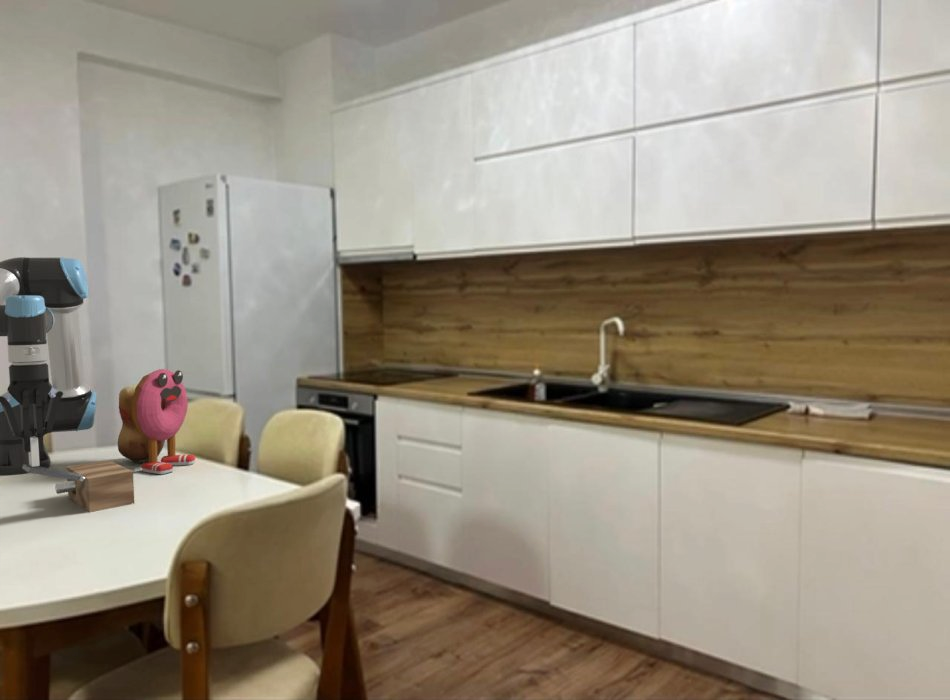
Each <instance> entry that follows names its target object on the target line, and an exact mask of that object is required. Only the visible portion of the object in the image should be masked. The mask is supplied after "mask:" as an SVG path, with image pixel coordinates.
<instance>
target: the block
mask: <svg viewBox="0 0 950 700" xmlns="http://www.w3.org/2000/svg"><path fill="white" fill-rule="evenodd" d="M66 471H68V472H76V473H78V474H80V475H81V476H83V477H85V478H86V480H85V481H84V482H81V481H77V480H75V488H76V491H71V492H67V497H68V499H69V500H71V501H72V500H73V502H74V503H76V504H77V505H79V506H80V507H82V508H83V509H84V510H86V511H87V512H88V513H93V512H96V511H98V512H99V511H102V510H103V511H104V510H106V509H113V508H118V507H121V506H126V505H127V506H128V505H132V503H133V504H135V486H134V484H135V483H134V471H133V470H131V469H129V468H126V467H125V466H123V465H120V464H118V463H116V462H114V461H112V460H103V461H101V460H100V461H95V462H90V463H84V464H77V465H71V466H66ZM67 481H73V480H71V479H67ZM67 481H66V482H67Z"/></svg>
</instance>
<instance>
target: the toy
mask: <svg viewBox="0 0 950 700" xmlns="http://www.w3.org/2000/svg"><path fill="white" fill-rule="evenodd" d="M183 379H184V375H183V372H182V371H181V370H179V369H178V370H176V371H175V372H174V371H171V370H169V369H164V368H159V369H156V370H154V371H152V372H150V373H148V374H146V375H144V376H143V377H141V379H140V381H139V382H138V383H137V384H138V385H137V386H136V388H135V392H134V395H133V399H132V418H133V420H134V423H135V425H136V428H137V430H138V431H139V432H140V433H142V434H143V435H144V436H145V437H147V438H148V446H149V462H143V463H142V464H141V469H142V472H144V473H149V474H153V475H154V474H155V475H167V474H170V473H173V471H174V468H173V466H190V465H191V466H192V465H194V463H196V455H194V454H176V434H177V433H178V432H179V431H180V429H181V428H182V425H183V424H184V421H185V419H186V415H187V413H188V407H189V406H188V404H189V403H188V397H187V396H188V395H187V391H186V389H185V388H186V387H185V386H184V383H183ZM157 440H159V441H164V440H165V441H166V447H167V448H166V449H167V455H163V456H162V457H161V458H160V461H158V457H157Z"/></svg>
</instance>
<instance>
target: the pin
mask: <svg viewBox="0 0 950 700" xmlns="http://www.w3.org/2000/svg"><path fill="white" fill-rule="evenodd" d="M54 488H55V492H56V493H55V494H57V495H59V494H65V493H68V492H71V491H76V488H75V480H73V481H62V482H56V483H55V485H54Z"/></svg>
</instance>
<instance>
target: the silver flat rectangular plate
mask: <svg viewBox="0 0 950 700" xmlns="http://www.w3.org/2000/svg"><path fill="white" fill-rule="evenodd" d="M22 469H24V470H25V471H27V472H28V474H35V475H43V476H48V477H54V478H61V479H71V480H77V481H81V482H84V481H85V480H86V478H85V477H83V476H81V475H80V474H78V473H76V472H68V471H67V470H60V469H55V468H50V467H48V468H44V467H39V466H34V467H32V466H30V465H27V464H23V467H22Z"/></svg>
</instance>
